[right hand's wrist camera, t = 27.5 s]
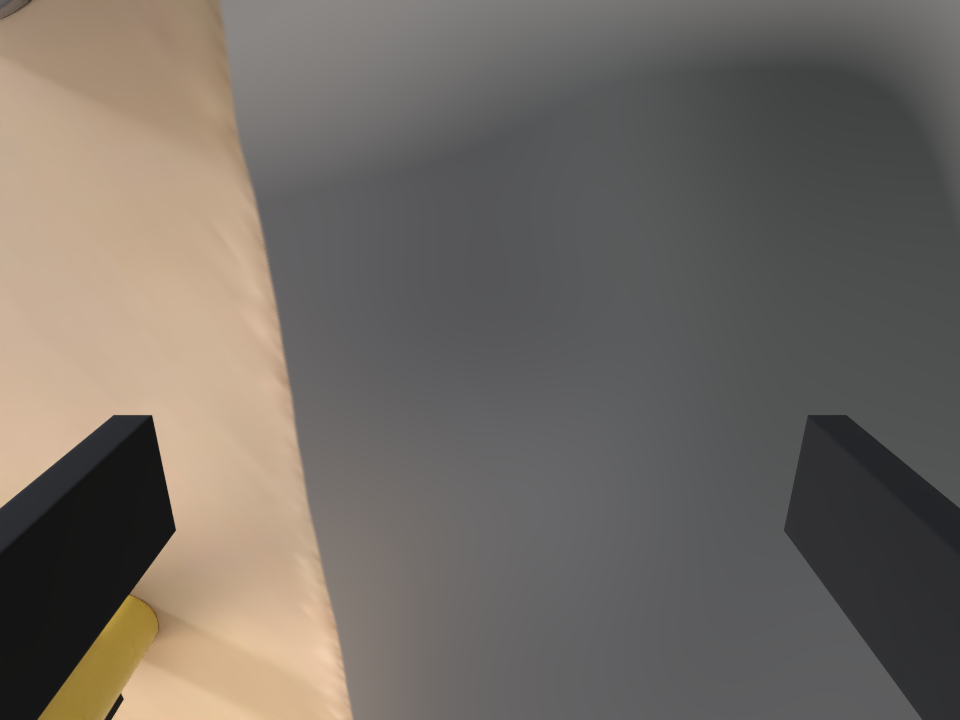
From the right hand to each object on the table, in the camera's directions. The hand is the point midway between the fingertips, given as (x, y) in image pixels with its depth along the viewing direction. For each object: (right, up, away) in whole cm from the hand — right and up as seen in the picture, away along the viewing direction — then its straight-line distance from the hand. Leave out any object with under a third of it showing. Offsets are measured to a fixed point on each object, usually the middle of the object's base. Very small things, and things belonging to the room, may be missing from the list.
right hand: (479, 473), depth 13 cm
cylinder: (-31, -20, +41) cm, 55 cm away
